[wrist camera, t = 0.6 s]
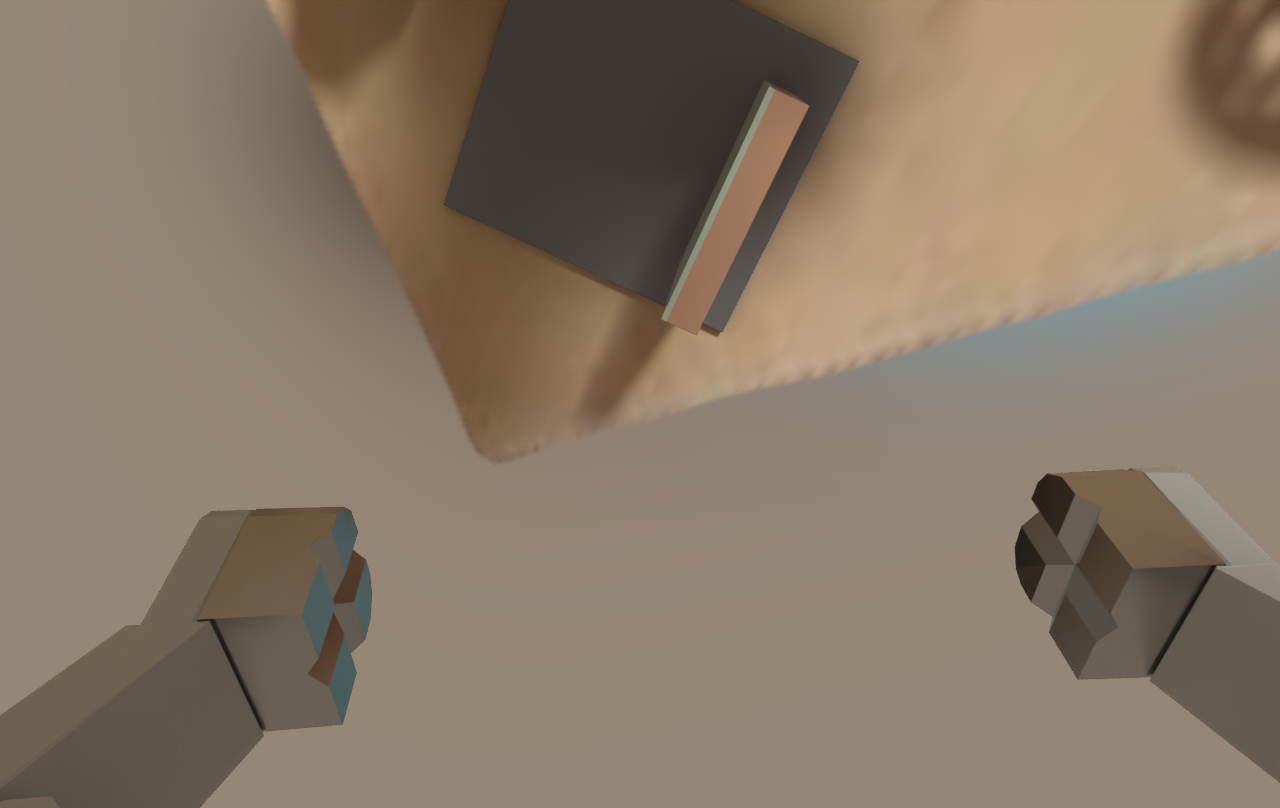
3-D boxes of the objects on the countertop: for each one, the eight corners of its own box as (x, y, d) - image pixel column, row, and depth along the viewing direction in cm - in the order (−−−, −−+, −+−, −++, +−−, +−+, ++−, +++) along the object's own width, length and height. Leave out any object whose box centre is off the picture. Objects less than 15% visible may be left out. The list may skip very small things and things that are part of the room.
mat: (540, -92, 45) (537, -94, 45) (858, 61, 46) (859, 61, 46) (446, 203, 53) (443, 205, 52) (722, 329, 54) (722, 332, 53)
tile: (764, 79, 47) (769, 86, 36) (795, 94, 47) (809, 105, 36) (679, 263, 52) (660, 319, 41) (707, 276, 52) (696, 335, 41)
